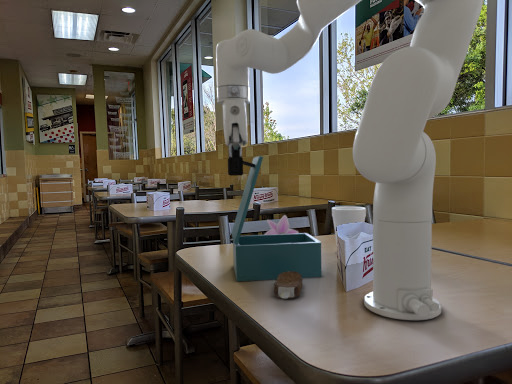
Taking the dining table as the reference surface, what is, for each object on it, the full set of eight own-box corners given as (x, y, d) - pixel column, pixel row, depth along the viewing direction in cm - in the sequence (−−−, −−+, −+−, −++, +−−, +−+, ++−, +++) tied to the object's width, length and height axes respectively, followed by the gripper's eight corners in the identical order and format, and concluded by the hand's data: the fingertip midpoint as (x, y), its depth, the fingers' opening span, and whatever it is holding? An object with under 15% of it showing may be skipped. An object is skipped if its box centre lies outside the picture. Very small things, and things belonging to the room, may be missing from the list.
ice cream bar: (304, 282, 82) (303, 269, 82) (298, 307, 67) (298, 292, 67) (279, 281, 83) (279, 268, 83) (269, 306, 68) (268, 291, 68)
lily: (256, 255, 112) (266, 229, 108) (257, 234, 123) (266, 209, 118) (294, 266, 113) (306, 241, 109) (292, 244, 124) (302, 220, 120)
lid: (256, 158, 95) (235, 152, 95) (263, 156, 83) (238, 149, 82) (234, 234, 96) (212, 228, 95) (237, 244, 83) (212, 238, 82)
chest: (307, 262, 98) (307, 232, 98) (321, 276, 86) (321, 242, 85) (233, 266, 96) (232, 236, 96) (236, 281, 84) (235, 246, 83)
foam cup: (326, 251, 112) (326, 207, 111) (353, 248, 114) (353, 205, 114) (343, 258, 103) (343, 210, 102) (372, 255, 105) (372, 208, 105)
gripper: (253, 89, 79) (255, 175, 80) (246, 103, 96) (248, 174, 97) (217, 89, 79) (219, 176, 80) (216, 103, 95) (219, 175, 97)
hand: (235, 174), depth 88 cm, fingers closed on lid, 5 cm apart
